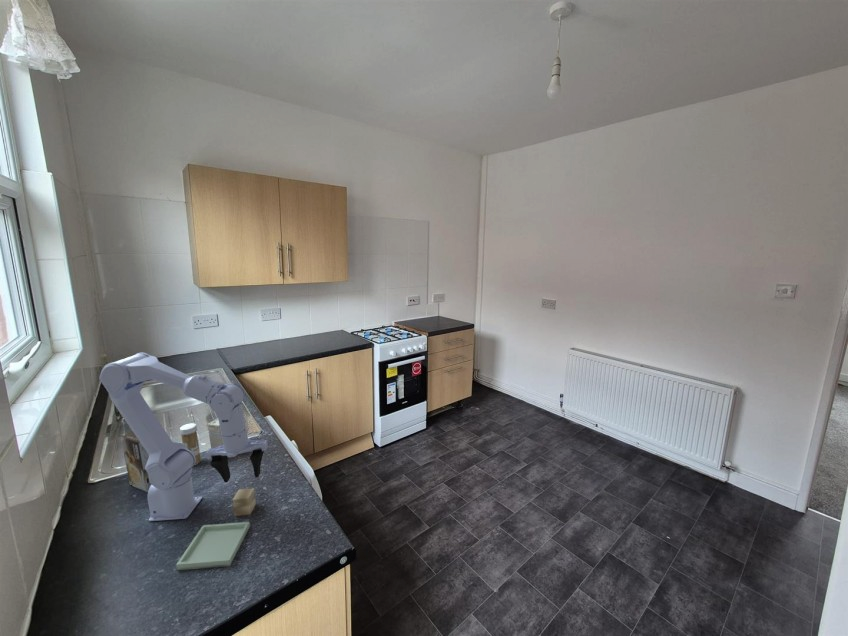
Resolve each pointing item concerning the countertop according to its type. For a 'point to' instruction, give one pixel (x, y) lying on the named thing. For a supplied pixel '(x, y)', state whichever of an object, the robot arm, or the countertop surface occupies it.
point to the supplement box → (215, 434)
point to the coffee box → (136, 461)
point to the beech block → (244, 502)
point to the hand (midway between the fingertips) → (242, 477)
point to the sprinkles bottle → (191, 439)
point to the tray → (214, 546)
